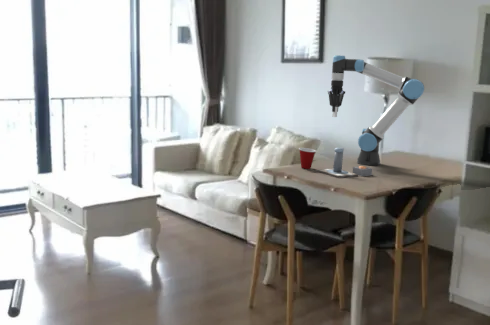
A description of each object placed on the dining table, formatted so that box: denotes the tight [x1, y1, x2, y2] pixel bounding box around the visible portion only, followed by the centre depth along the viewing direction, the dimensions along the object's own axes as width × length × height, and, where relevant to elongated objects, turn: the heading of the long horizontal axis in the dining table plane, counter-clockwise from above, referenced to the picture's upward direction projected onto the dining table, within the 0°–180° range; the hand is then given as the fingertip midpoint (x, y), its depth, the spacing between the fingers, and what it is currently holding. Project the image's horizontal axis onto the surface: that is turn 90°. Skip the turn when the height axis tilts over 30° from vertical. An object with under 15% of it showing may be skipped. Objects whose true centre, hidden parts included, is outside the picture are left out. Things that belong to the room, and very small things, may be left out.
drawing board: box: [316, 168, 359, 179], centre depth 326 cm, size 15×20×1 cm
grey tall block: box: [332, 147, 344, 173], centre depth 325 cm, size 5×5×14 cm
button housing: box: [352, 166, 373, 177], centre depth 328 cm, size 8×8×4 cm
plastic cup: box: [298, 147, 317, 170], centre depth 339 cm, size 11×11×12 cm
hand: (334, 116), depth 356 cm, fingers closed
